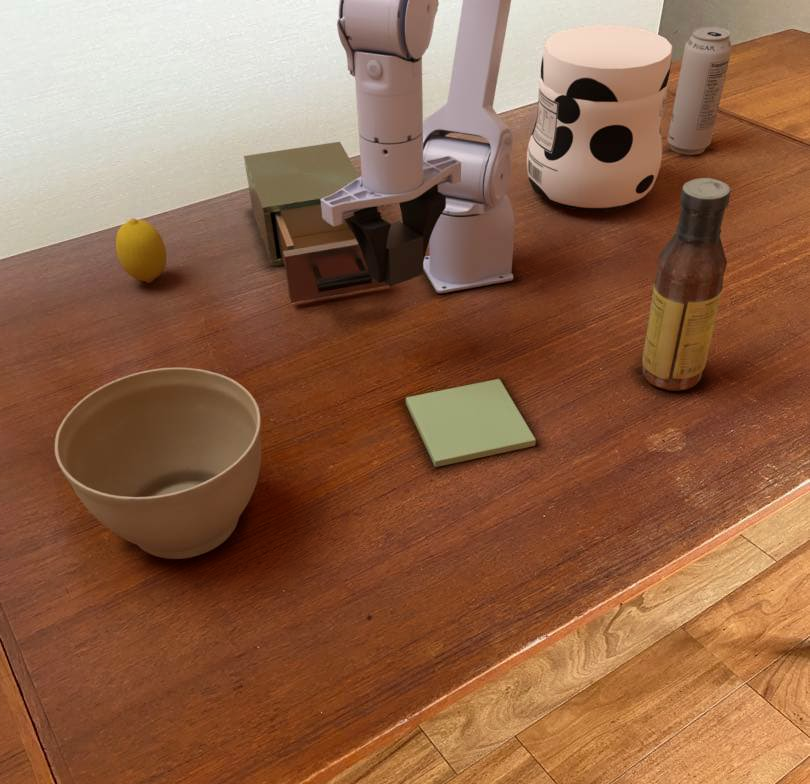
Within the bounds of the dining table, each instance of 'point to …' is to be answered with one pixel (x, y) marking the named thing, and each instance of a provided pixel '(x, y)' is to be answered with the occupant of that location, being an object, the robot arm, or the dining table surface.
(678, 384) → the sauce bottle
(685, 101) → the energy drink can
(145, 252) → the lemon
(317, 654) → the dining table surface
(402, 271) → the block
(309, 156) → the olive box frame
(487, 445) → the plate
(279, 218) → the cabinet drawer
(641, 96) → the milk container
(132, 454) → the planter bowl
